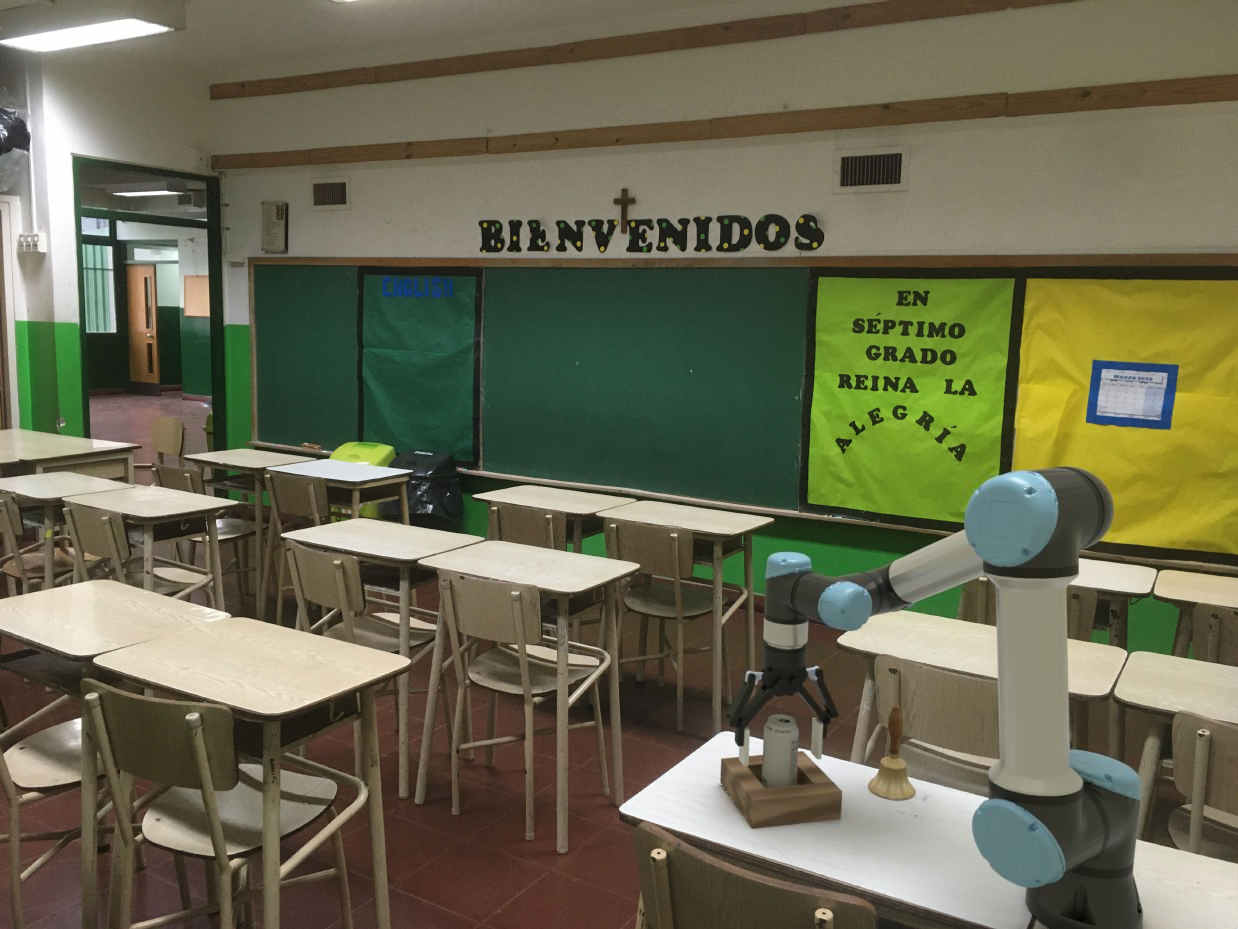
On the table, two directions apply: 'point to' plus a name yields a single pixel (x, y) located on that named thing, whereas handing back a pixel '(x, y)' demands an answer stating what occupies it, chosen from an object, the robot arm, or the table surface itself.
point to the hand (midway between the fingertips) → (780, 759)
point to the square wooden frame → (781, 793)
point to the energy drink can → (780, 752)
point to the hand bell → (893, 765)
